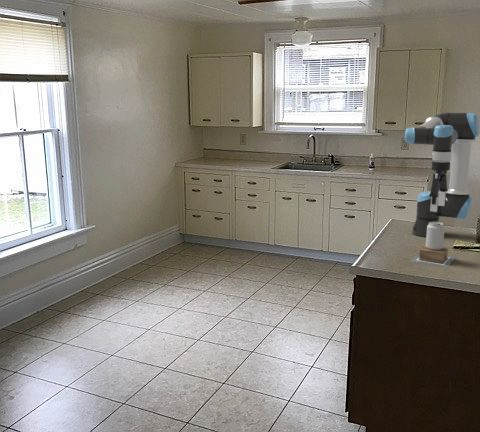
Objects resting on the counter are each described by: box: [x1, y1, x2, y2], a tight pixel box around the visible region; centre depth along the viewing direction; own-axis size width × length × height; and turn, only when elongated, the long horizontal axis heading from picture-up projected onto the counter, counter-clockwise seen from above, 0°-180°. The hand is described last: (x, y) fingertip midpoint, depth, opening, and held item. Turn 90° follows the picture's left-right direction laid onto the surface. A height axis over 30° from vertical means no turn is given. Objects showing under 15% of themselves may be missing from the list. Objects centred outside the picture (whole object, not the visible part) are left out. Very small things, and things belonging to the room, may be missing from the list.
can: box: [425, 221, 445, 250], centre depth 236 cm, size 8×8×12 cm
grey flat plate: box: [409, 252, 457, 268], centre depth 239 cm, size 18×16×1 cm
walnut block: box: [419, 244, 449, 264], centre depth 238 cm, size 10×10×5 cm
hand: (437, 208), depth 234 cm, fingers open, 13 cm apart
